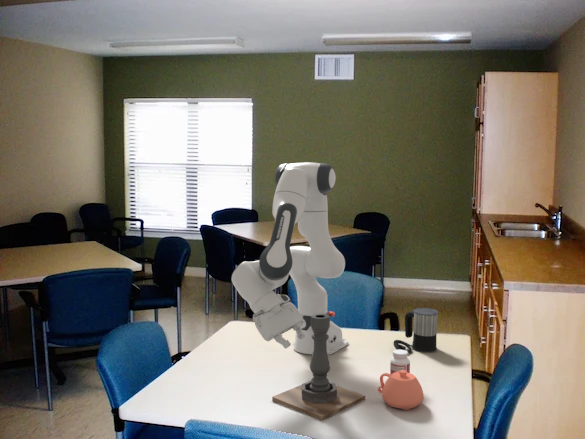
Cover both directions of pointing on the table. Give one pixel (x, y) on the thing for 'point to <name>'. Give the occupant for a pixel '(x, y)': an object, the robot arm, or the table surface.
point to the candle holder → (320, 353)
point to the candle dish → (318, 408)
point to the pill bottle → (399, 361)
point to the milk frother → (420, 330)
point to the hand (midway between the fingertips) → (295, 342)
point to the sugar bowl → (401, 390)
